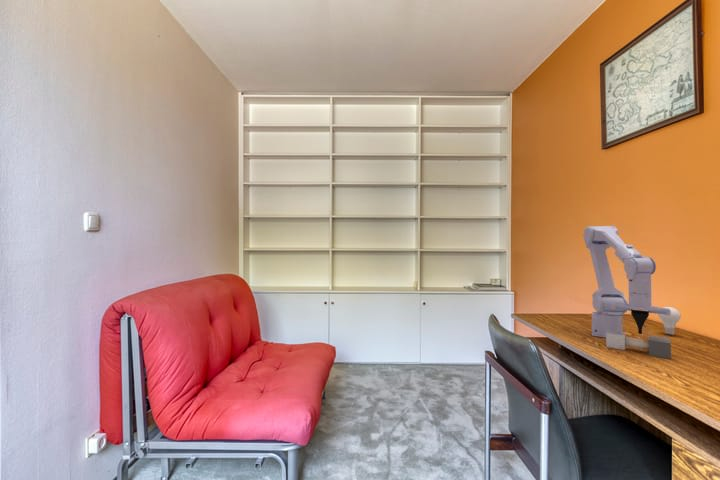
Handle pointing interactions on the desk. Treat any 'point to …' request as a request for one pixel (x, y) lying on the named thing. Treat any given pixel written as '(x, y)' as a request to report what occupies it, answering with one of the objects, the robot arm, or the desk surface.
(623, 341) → the light grey cube
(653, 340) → the socket
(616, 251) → the robot arm
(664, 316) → the lightbulb
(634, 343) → the slip tube
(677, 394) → the desk surface
